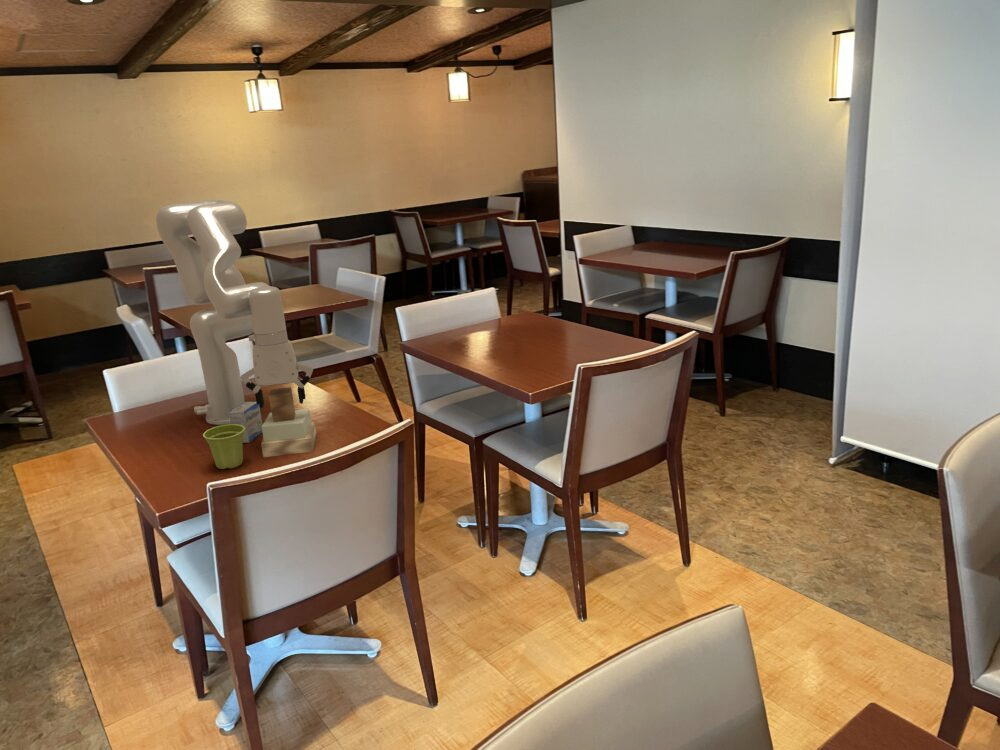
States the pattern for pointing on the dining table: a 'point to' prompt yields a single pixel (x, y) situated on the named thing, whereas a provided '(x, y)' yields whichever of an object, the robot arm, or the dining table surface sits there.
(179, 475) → the dining table surface
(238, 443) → the plant pot
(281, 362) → the robot arm
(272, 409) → the walnut block
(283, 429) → the tower top block
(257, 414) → the medicine box
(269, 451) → the tower base block
